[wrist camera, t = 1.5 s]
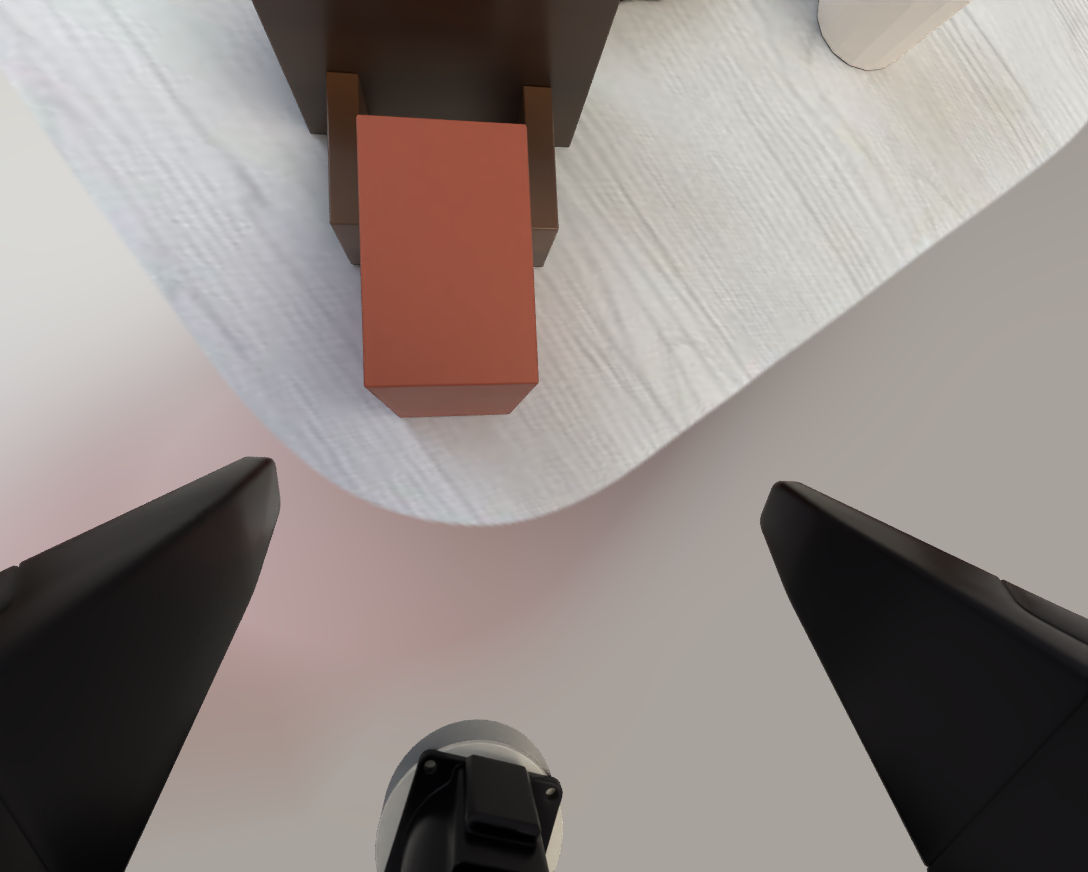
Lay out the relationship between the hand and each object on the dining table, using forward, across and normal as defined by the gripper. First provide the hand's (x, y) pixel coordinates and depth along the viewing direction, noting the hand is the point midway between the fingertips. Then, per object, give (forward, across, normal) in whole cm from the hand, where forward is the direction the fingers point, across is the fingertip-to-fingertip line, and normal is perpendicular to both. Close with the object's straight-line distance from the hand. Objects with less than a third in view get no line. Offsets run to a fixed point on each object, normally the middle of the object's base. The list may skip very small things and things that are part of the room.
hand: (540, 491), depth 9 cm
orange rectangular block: (+16, +2, +2) cm, 16 cm away
